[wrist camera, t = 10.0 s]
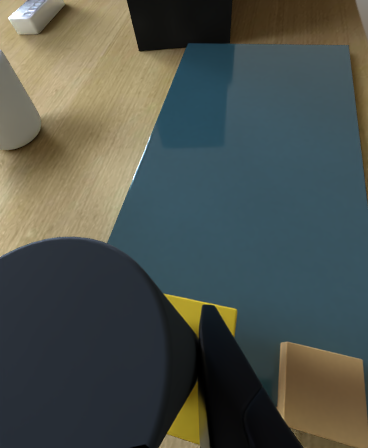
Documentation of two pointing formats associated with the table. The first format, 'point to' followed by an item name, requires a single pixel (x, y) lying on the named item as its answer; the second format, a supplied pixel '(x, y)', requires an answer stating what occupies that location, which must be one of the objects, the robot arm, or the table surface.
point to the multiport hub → (35, 15)
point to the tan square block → (323, 394)
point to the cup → (15, 110)
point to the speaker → (180, 22)
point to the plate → (258, 198)
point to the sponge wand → (94, 350)
